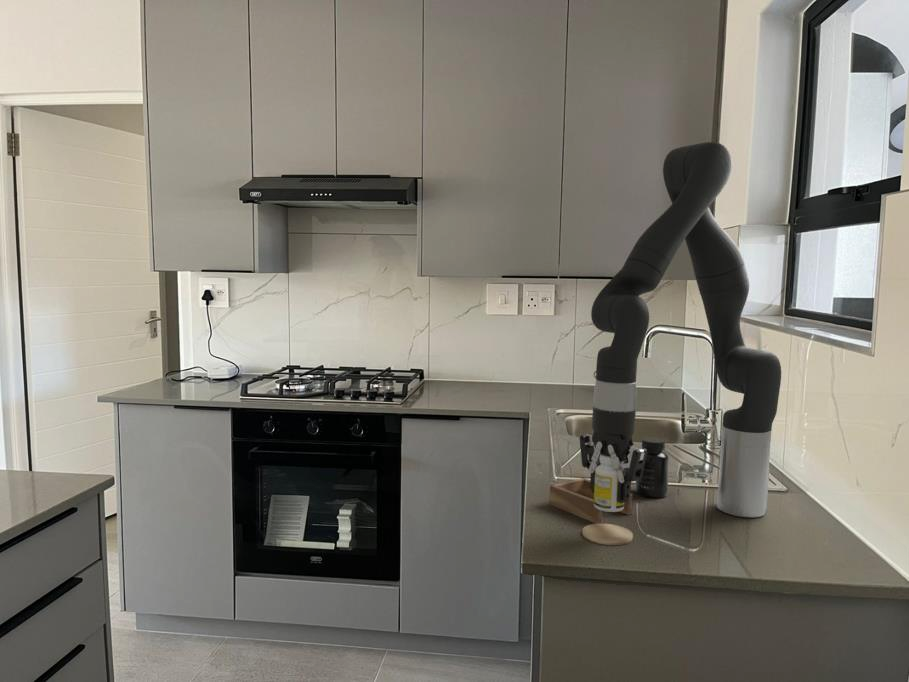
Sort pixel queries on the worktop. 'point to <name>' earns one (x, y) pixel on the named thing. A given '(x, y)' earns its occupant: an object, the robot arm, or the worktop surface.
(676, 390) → the worktop surface
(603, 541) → the coaster
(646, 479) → the supplement bottle
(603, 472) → the supplement bottle
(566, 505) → the frame
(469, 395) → the worktop surface
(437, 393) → the worktop surface
